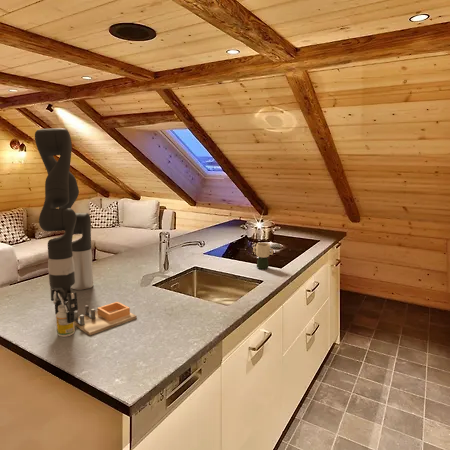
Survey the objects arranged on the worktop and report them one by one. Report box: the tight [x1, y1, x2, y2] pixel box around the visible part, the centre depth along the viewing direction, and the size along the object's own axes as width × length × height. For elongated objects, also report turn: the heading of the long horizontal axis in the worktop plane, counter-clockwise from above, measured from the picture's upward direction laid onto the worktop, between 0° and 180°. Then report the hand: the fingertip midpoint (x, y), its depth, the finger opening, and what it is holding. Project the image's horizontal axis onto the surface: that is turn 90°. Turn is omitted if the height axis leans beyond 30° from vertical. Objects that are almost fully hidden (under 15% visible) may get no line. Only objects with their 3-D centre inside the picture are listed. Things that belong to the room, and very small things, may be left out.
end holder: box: [96, 301, 131, 321], centre depth 133 cm, size 8×8×2 cm
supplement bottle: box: [55, 304, 76, 338], centre depth 120 cm, size 5×5×10 cm
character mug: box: [252, 242, 274, 270], centre depth 193 cm, size 11×7×13 cm, turn 64°
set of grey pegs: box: [74, 304, 96, 326], centre depth 128 cm, size 7×6×4 cm
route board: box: [74, 309, 138, 336], centre depth 130 cm, size 14×18×1 cm
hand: (64, 318), depth 120 cm, fingers open, 8 cm apart
